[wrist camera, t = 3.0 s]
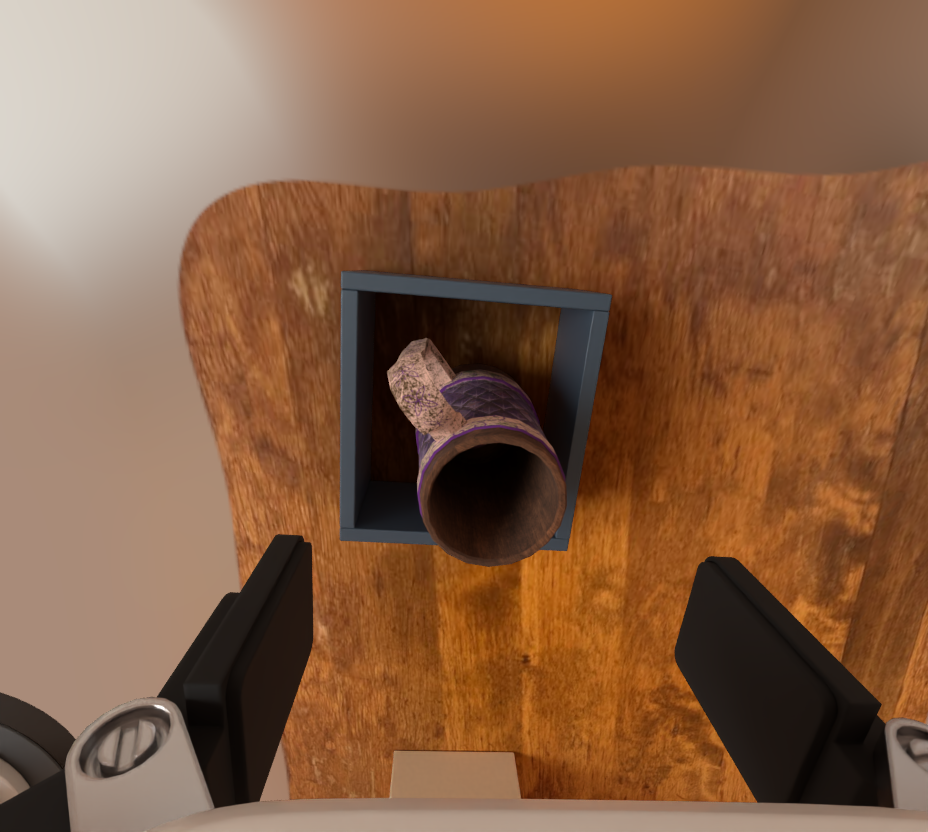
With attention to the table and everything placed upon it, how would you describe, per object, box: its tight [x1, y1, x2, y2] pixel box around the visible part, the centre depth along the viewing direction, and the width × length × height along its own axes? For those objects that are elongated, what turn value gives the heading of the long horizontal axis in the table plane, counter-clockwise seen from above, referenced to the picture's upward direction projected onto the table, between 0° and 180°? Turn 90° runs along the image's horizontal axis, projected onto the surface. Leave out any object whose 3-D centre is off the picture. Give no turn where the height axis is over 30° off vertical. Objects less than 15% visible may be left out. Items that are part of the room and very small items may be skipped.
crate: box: [340, 270, 612, 551], centre depth 26 cm, size 13×14×6 cm
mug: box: [387, 338, 567, 567], centre depth 23 cm, size 10×7×12 cm
